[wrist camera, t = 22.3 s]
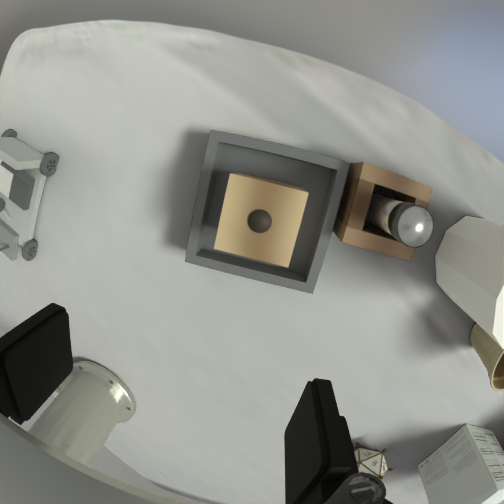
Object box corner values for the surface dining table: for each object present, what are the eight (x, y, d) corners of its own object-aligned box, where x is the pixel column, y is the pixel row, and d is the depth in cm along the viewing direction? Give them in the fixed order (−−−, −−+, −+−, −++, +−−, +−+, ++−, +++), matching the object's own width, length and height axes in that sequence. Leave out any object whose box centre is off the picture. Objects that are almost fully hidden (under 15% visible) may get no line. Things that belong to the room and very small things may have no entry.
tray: (193, 253, 31) (184, 261, 28) (217, 133, 27) (210, 130, 24) (309, 281, 30) (312, 293, 27) (342, 163, 27) (349, 163, 24)
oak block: (227, 232, 29) (213, 249, 23) (240, 172, 27) (229, 173, 21) (286, 247, 29) (288, 267, 23) (302, 187, 27) (308, 192, 21)
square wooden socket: (333, 231, 29) (341, 242, 24) (351, 163, 27) (363, 162, 22) (394, 248, 28) (410, 261, 24) (412, 184, 26) (432, 187, 22)
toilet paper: (501, 274, 28) (558, 312, 16) (443, 312, 30) (493, 368, 18) (487, 201, 26) (558, 222, 14) (423, 239, 28) (488, 279, 16)
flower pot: (501, 282, 28) (540, 309, 20) (512, 326, 29) (543, 355, 21) (453, 328, 30) (485, 365, 22) (469, 366, 32) (495, 402, 23)
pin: (356, 218, 28) (392, 242, 18) (364, 189, 27) (403, 199, 18) (383, 226, 28) (426, 252, 18) (390, 198, 27) (438, 211, 17)
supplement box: (449, 468, 39) (469, 524, 22) (415, 465, 39) (435, 532, 22) (492, 429, 35) (522, 485, 19) (464, 422, 35) (498, 490, 18)
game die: (346, 438, 41) (314, 475, 34) (383, 424, 36) (354, 467, 29) (371, 469, 38) (343, 507, 31) (409, 459, 33) (384, 502, 26)
